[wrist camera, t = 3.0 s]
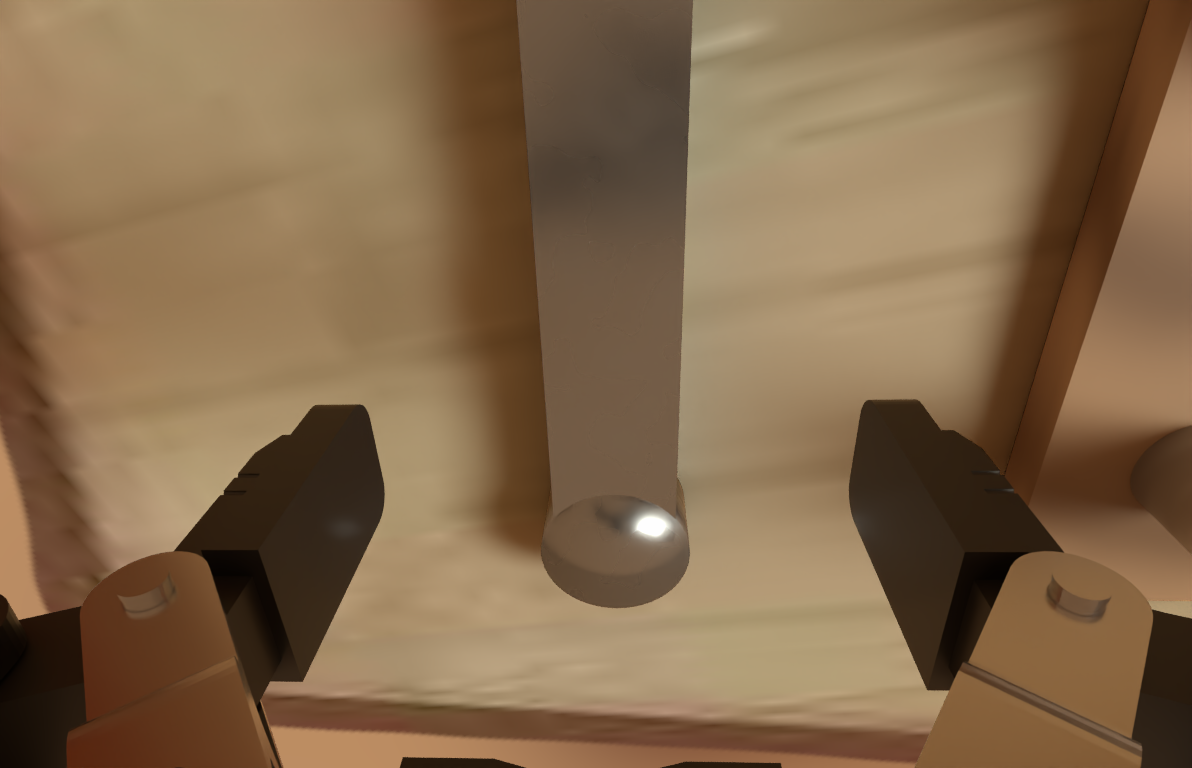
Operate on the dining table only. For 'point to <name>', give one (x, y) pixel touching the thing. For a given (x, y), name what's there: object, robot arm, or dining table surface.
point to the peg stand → (1125, 341)
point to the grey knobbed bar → (610, 284)
